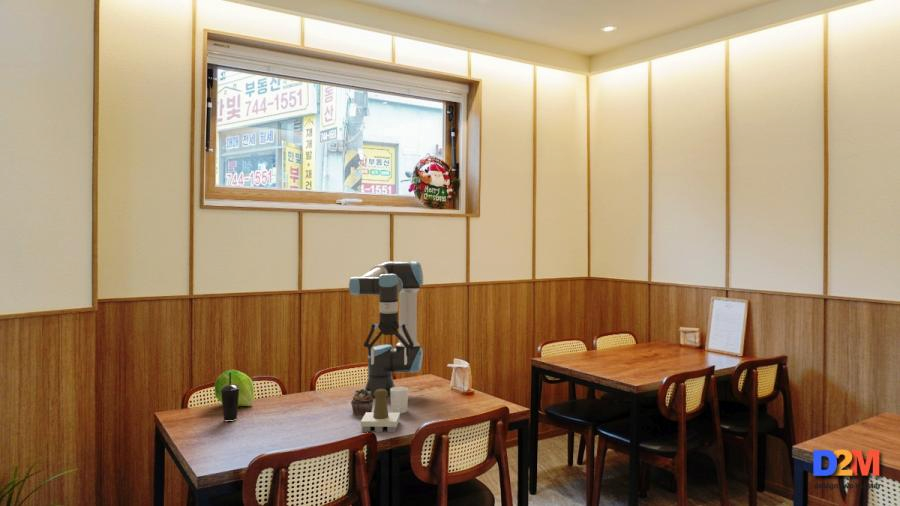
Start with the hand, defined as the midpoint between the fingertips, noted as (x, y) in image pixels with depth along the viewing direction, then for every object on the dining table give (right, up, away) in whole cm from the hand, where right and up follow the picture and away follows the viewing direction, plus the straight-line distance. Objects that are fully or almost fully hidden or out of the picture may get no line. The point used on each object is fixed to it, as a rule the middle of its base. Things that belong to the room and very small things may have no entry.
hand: (389, 364), depth 234 cm
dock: (-3, -25, -4) cm, 25 cm away
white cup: (+3, -24, +17) cm, 30 cm away
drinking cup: (-67, -25, +5) cm, 71 cm away
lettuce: (-73, -24, +28) cm, 82 cm away
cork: (-3, -21, -4) cm, 21 cm away
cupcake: (-13, -24, +16) cm, 32 cm away
